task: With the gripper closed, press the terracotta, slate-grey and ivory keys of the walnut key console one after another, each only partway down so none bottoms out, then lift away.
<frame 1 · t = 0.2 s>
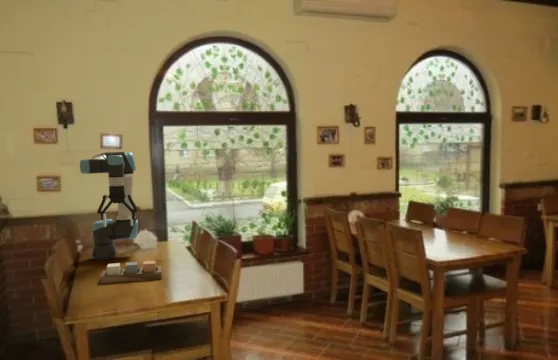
hand: (118, 226, 250), 27 cm above the table, tool pointing down, fingers open, 13 cm apart
terracotta key: (149, 266, 254), point 5 cm above the table, slide at 0.0 cm
ivory key: (113, 269, 250), point 5 cm above the table, slide at 0.0 cm
console: (132, 277, 252), on the table
slate key: (131, 267, 252), point 5 cm above the table, slide at 0.0 cm
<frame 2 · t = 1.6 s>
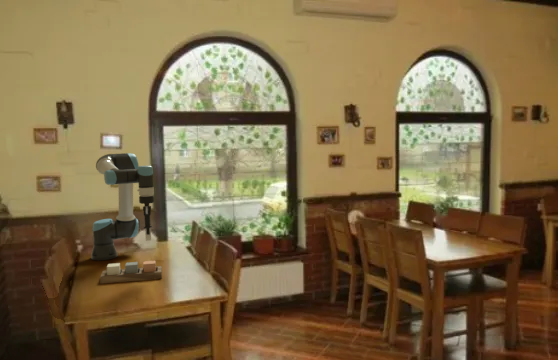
hand: (148, 240, 252), 19 cm above the table, tool pointing down, fingers closed
nothing on the table moved.
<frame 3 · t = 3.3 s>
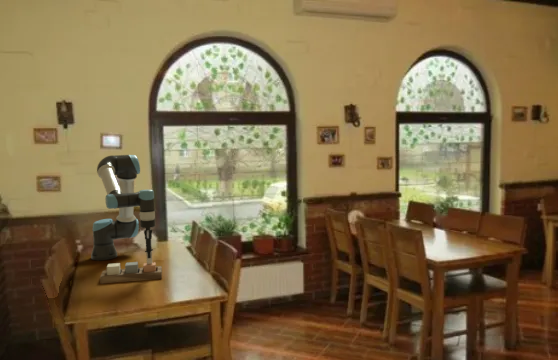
hand: (149, 263, 253), 7 cm above the table, tool pointing down, fingers closed
terracotta key: (149, 268, 254), point 4 cm above the table, slide at 0.9 cm, touching gripper
everything else where it was.
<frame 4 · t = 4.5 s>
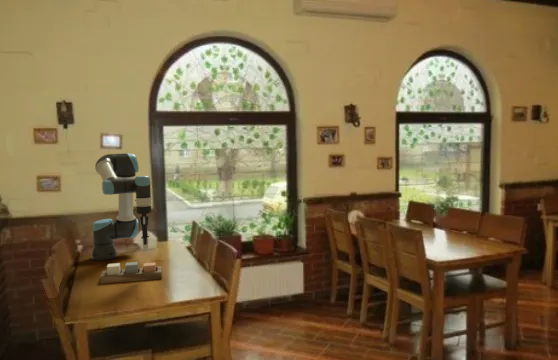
hand: (145, 250, 253), 14 cm above the table, tool pointing down, fingers closed
terracotta key: (149, 268, 254), point 4 cm above the table, slide at 1.0 cm
everything else where it was.
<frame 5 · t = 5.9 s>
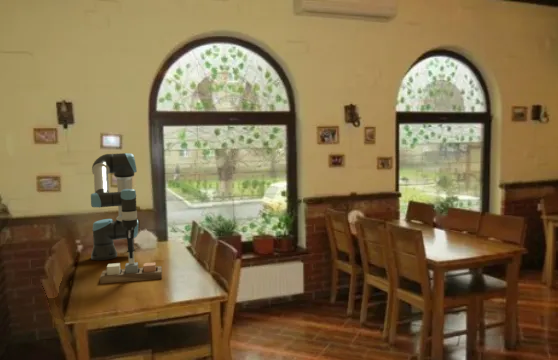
hand: (131, 263, 251), 7 cm above the table, tool pointing down, fingers closed
slate key: (131, 268, 252), point 5 cm above the table, slide at 0.3 cm, touching gripper
everything else where it was.
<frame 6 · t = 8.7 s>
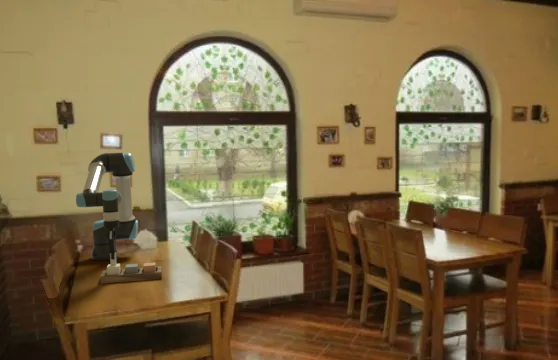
hand: (113, 264, 249), 8 cm above the table, tool pointing down, fingers closed
ivory key: (113, 269, 250), point 5 cm above the table, slide at 0.2 cm, touching gripper
slate key: (131, 269, 252), point 4 cm above the table, slide at 1.0 cm
everything else where it was.
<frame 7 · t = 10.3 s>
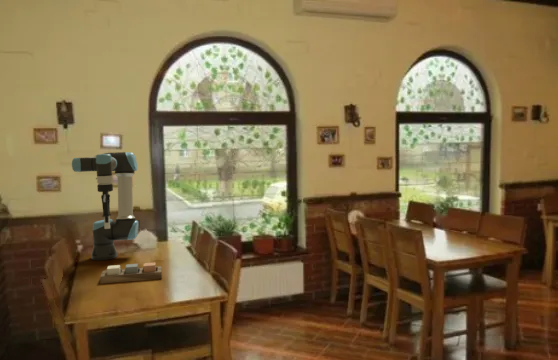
hand: (107, 228, 253), 26 cm above the table, tool pointing down, fingers closed
ivory key: (113, 271, 250), point 4 cm above the table, slide at 1.0 cm
everything else where it was.
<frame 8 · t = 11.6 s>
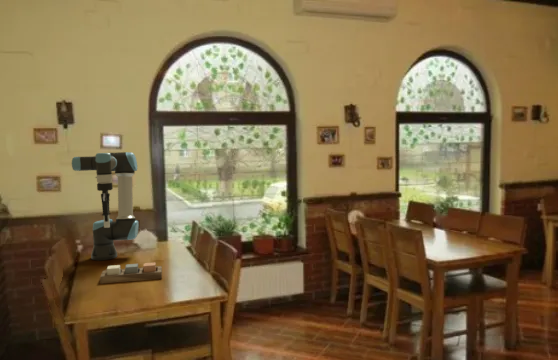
hand: (106, 227, 253), 26 cm above the table, tool pointing down, fingers closed
nothing on the table moved.
at the end: terracotta key slide at 1.0 cm; slate key slide at 1.0 cm; ivory key slide at 1.0 cm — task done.
